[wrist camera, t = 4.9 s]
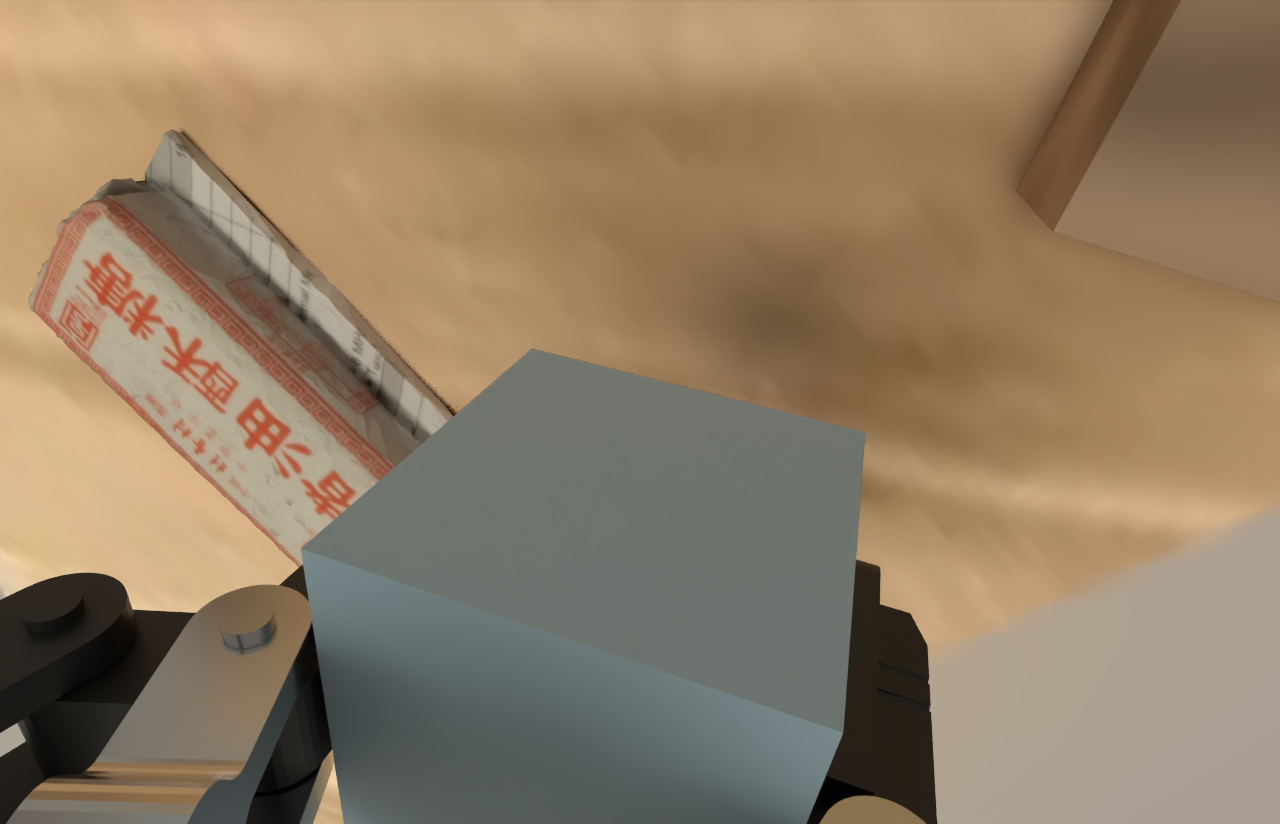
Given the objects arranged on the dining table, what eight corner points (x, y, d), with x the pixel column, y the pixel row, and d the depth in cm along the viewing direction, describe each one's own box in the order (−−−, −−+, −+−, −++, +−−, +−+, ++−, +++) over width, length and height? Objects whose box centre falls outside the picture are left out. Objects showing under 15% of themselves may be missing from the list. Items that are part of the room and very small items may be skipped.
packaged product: (-13, 333, 26) (58, 139, 21) (109, 294, 31) (193, 125, 25) (338, 664, 29) (477, 561, 24) (407, 587, 33) (538, 485, 28)
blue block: (532, 348, 11) (301, 547, 7) (865, 431, 10) (842, 732, 6) (521, 590, 13) (348, 847, 9) (785, 677, 12) (728, 1013, 8)
